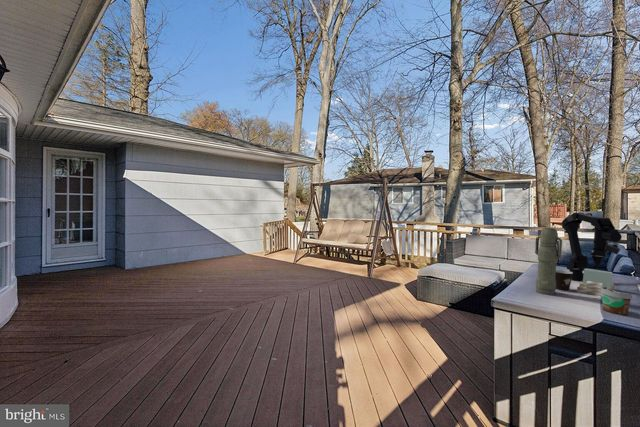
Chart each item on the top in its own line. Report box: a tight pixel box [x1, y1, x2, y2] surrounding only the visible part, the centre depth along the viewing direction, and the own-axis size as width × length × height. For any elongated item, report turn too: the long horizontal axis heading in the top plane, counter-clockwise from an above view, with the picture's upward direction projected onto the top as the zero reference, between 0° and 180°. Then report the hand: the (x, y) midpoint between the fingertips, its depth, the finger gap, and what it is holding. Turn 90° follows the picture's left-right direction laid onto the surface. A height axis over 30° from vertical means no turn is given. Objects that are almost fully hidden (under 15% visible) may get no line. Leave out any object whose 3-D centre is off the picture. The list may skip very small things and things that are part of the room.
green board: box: [582, 268, 613, 289], centre depth 184 cm, size 12×4×10 cm, turn 45°
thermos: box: [534, 227, 563, 296], centre depth 173 cm, size 9×12×35 cm
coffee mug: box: [555, 269, 573, 292], centre depth 181 cm, size 12×9×10 cm
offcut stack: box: [585, 281, 603, 291], centre depth 176 cm, size 8×6×5 cm
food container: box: [600, 287, 633, 316], centre depth 147 cm, size 12×6×10 cm, turn 5°
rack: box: [576, 282, 615, 297], centre depth 181 cm, size 14×26×2 cm, turn 135°
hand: (598, 266), depth 184 cm, fingers open, 9 cm apart
